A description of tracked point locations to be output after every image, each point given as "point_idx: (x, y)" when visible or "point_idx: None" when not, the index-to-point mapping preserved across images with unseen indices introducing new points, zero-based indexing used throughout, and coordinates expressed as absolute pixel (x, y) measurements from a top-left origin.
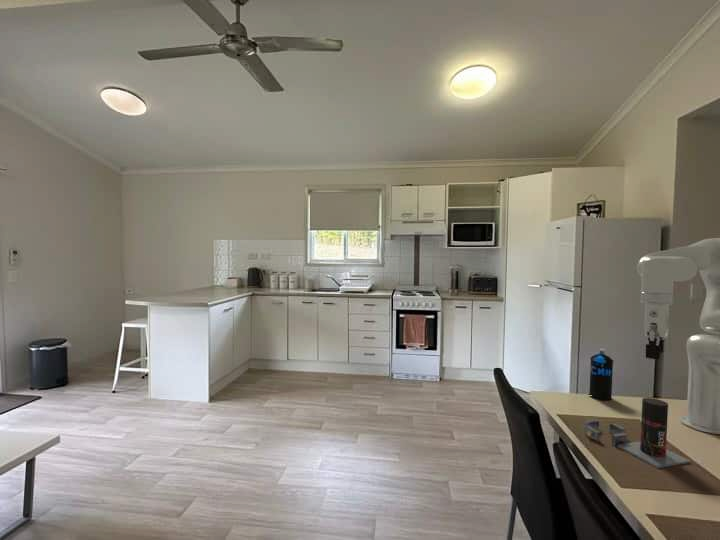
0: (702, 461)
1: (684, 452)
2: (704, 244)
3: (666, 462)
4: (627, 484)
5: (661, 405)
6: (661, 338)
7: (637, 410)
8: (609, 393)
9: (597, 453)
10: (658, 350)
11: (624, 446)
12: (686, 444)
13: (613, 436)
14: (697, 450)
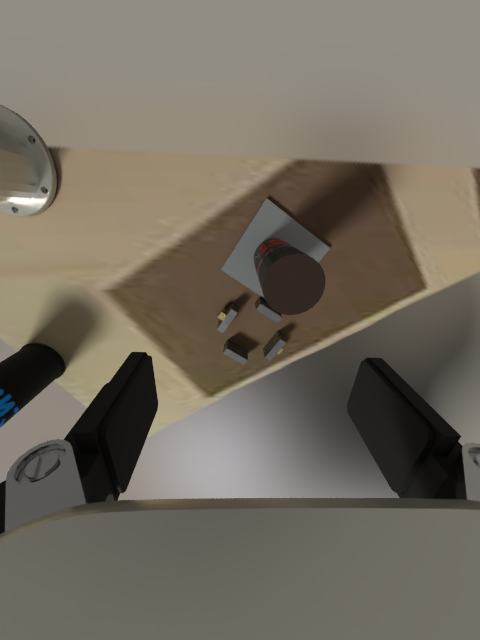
0: (241, 176)
1: (220, 207)
2: None
3: (304, 236)
4: (412, 281)
5: (320, 269)
6: (76, 461)
7: (50, 297)
8: (33, 355)
9: (328, 327)
10: (419, 406)
11: None
12: (171, 204)
13: (279, 320)
14: (188, 184)
